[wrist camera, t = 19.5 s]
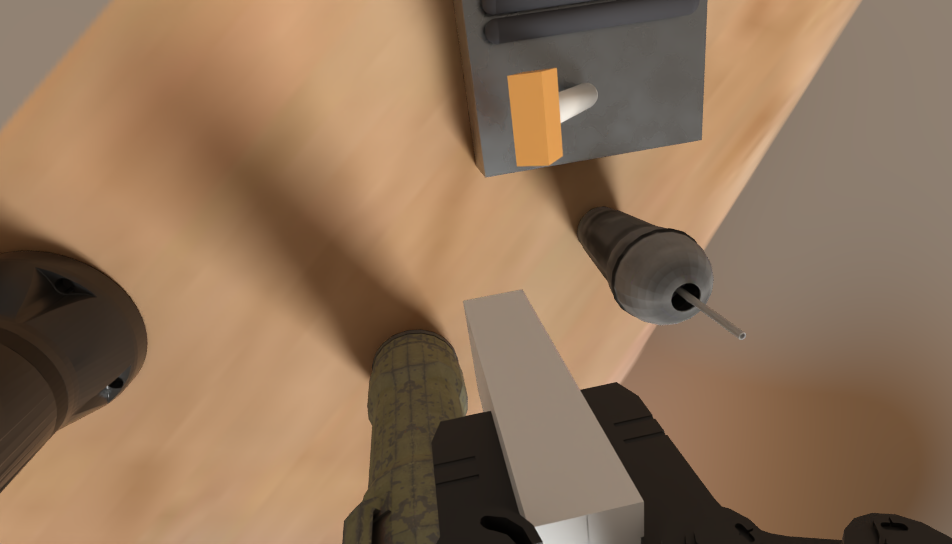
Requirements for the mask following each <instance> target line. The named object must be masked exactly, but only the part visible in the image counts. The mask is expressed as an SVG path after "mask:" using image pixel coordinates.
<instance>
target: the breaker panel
mask: <svg viewBox="0 0 952 544" xmlns="http://www.w3.org/2000/svg"><path fill="white" fill-rule="evenodd" d="M610 1H617V0H595V1H588V2H581V3H575V4H568V5H561V6H554V7H547V8H540V9H534V10H527V11H520V12H513V13H506V14H499V15H489V14H487V13H486V12H485V11H484V9H483V7H482V3H481V2H482V0H453V4H454V11H455V19H456V26H457V33H458V40H459V47H460V54H461V62H462V69H463V76H464V83H465V90H466V97H467V105H468V112H469V119H470V126H471V133H472V140H473V147H474V155H475V162H476V166H477V168H478V169H479V170H480V171H481V173H482V174H483V175H484V176H485V177H491V176H496V175H502V174H508V173H514V172H519V171H525V170H531V169H537V168H543V167H548V166H518V167H517V163H516V154H515V144H514V135H513V125H512V116H511V107H510V97H509V88H508V79H507V76H509V75H513V74H517V73H522V72H527V71H535V70H542V69H550V68H557V77H558V92H561V91H563V90H566V89H569V88H571V87H574V86H577V85H579V84H582V83H590V84H592V85H593V86H594V87H595V88H596V90H597V93H598V97H597V101H596V102H595V104H594V105H593V106H592V107H590V108H588V109H586V110H585V111H583V112H581V113H579V114H577V115H575V116H573V117H571V118H569V119H568V120H566V121H564V122H562V123H561V135H562V150H563V156H562V157H561V158H559V159H558V160H556V161H555V162H553V163H552V164H551V165H549V166H554V165H560V164H566V163H571V162H577V161H583V160H589V159H594V158H600V157H606V156H612V155H617V154H623V153H629V152H635V151H641V150H646V149H652V148H658V147H664V146H669V145H675V144H681V143H687V142H692V141H698V140H702V119H703V95H704V71H705V46H706V22H707V0H700V3H699V6H698V8H697V9H696V11H695V12H693V13H692V14H690V15H686V16H679V17H672V18H666V19H659V20H653V21H646V22H639V23H633V24H626V25H619V26H613V27H606V28H600V29H593V30H586V31H580V32H573V33H567V34H560V35H553V36H547V37H540V38H533V39H527V40H520V41H514V42H507V43H500V44H493V43H491V42H490V41H489V40H488V39H487V38H486V35H485V28H486V25H487V23H488V22H489V21H490V20H492V19H495V18H501V17H508V16H515V15H522V14H529V13H535V12H542V11H549V10H556V9H563V8H570V7H576V6H583V5H590V4H597V3H604V2H610Z"/></svg>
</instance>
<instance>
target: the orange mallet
mask: <svg viewBox="0 0 952 544" xmlns="http://www.w3.org/2000/svg"><path fill="white" fill-rule="evenodd" d="M507 79H508V88H509V97H510V107H511V116H512V125H513V135H514V144H515V154H516V163H517V167H518V166H549V165H551V164H552V163H553V162H555V161H556V160H558V159H559V158H561V157H562V156H563V150H562V135H561V123H562V122H564V121H566V120H568V119H569V118H571V117H573V116H575V115H577V114H579V113H581V112H583V111H585V110H586V109H588V108H590V107H592V106H593V105H594V104H595V102H596V101H597V97H598V93H597V90H596V88H595V87H594V86H593V85H592V84H590V83H582V84H579V85H577V86H574V87H571V88H569V89H566V90H563V91H561V92H558V77H557V68H550V69H542V70H535V71H527V72H522V73H517V74H513V75H509V76H507Z"/></svg>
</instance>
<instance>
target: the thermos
mask: <svg viewBox="0 0 952 544" xmlns="http://www.w3.org/2000/svg"><path fill="white" fill-rule="evenodd" d="M367 407H368V417H369V420H370V422H371V424H372V439H371V454H370V469H369V484H368V490H367V492H366V493H365V495H364V498H363V501H362V502H361V503H360V504H359V505H358V506H357V507H356V508H355V509H354V510H353V511H352V512H351V513H350V515H349V516H348V517H347V518H346V519H345V521H344V529H343V543H342V544H436V543H437V541H438V540H439V538H440V530H439V519H438V509H437V498H436V486H435V477H434V466H433V456H432V445H431V442H432V440H433V437H434V435H435V433H436V430H437V428H438V426H439V423H440V422H441V421H445V420H450V419H455V418H459V417H464V416H465V415H466V413H467V410H468V396H467V392H466V387H465V383H464V378H463V373H462V370H461V368H460V365H459V363H458V358H457V356H456V353H455V351H454V348H453V347H452V346H451V344H450V343H449V342H448V341H447V340H446V339H445V338H443V337H441V336H440V335H438V334H436V333H434V332H430V331H425V330H409V331H404V332H402V333H399V334H396V335H394V336H392V337H391V338H390V339H388V340H387V341H385V342H384V343H383V344H382V345H381V347H380V348H379V350H378V351H377V352H376V354H375V358H374V361H373V365H372V373H371V377H370V380H369V392H368V404H367Z"/></svg>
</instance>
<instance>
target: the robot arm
mask: <svg viewBox="0 0 952 544" xmlns="http://www.w3.org/2000/svg"><path fill="white" fill-rule="evenodd" d="M463 303H464V309H465V315H466V321H467V327H468V333H469V339H470V345H471V351H472V357H473V363H474V369H475V375H476V381H477V386H478V392H479V396H480V400H481V404H482V408H483V413H478V414H473V415H469V416H464V417H459V418H455V419H450V420H445V421H441V422H440V423H439V426H438V428H437V430H436V433H435V435H434V437H433V440H432V442H431V445H432V456H433V466H434V477H435V486H436V498H437V509H438V519H439V530H440V538H439V540H438V541H437V543H436V544H952V538H950V537H949V536H947V535H945V534H943V533H941V532H939V531H937V530H935V529H933V528H931V527H930V526H928V525H926V524H924V523H922V522H918V521H915V520H912V519H908V518H905V517H902V516H899V515H895V514H879V513H870V514H867V515H864V516H860V517H857V518H854V519H853V520H852V521H851V523H850V524H849V525H848V526H847V527H846V528H845V530H844V534H843V538H842V540H831V539H817V538H802V537H789V536H783V535H777V534H771V533H768V532H765V531H762V530H760V529H759V528H758V527H757V526H756V525H755V524H754V523H753V522H752V521H751V520H749V519H748V518H746V517H744V516H742V515H740V514H739V513H737V512H735V511H733V510H731V509H729V508H725V507H722V506H721V505H720V504H719V503H718V502H717V501H716V500H715V499H714V498H713V496H712V495H711V494H710V492H709V491H708V490H707V488H706V487H705V485H704V484H703V483H702V481H701V480H700V479H699V477H698V476H697V475H696V473H695V472H694V471H693V469H692V468H691V467H690V465H689V464H688V463H687V461H686V460H685V459H684V457H683V456H682V454H681V453H680V452H679V450H678V449H677V448H676V446H675V445H674V444H673V442H672V441H671V440H670V438H669V437H668V435H665V433H664V430H663V429H662V428H661V426H660V425H659V423H658V422H657V421H656V419H653V417H652V414H651V413H650V411H649V410H648V408H647V407H646V406H645V404H644V403H643V402H642V400H641V399H640V398H639V396H637V395H636V394H634V393H633V392H631V391H630V390H628V389H626V388H625V387H623V386H622V385H620V384H618V383H617V382H615V383H610V384H606V385H601V386H596V387H592V388H587V389H582V390H580V389H579V387H578V386H577V384H576V382H575V380H574V379H573V377H572V375H571V373H570V372H569V370H568V368H567V366H566V365H565V363H564V361H563V359H562V358H561V356H560V354H559V352H558V351H557V349H556V347H555V345H554V344H553V342H552V340H551V338H550V337H549V335H548V333H547V332H546V330H545V328H544V326H543V325H542V323H541V321H540V319H539V318H538V316H537V314H536V312H535V311H534V309H533V307H532V305H531V304H530V302H529V300H528V298H527V297H526V295H525V293H524V291H523V290H517V291H511V292H506V293H501V294H496V295H491V296H486V297H481V298H475V299H470V300H465V301H463ZM146 352H147V333H146V329H145V325H144V322H143V319H142V317H141V315H140V313H139V311H138V309H137V308H136V306H135V304H134V303H133V302H132V300H131V299H130V298H129V296H128V295H127V294H126V293H125V292H124V291H123V290H122V289H121V288H120V287H119V286H118V285H117V284H116V283H115V282H113V281H112V280H111V279H109V278H108V277H107V276H105V275H104V274H102V273H101V272H99V271H98V270H96V269H94V268H92V267H90V266H88V265H86V264H84V263H82V262H79V261H77V260H74V259H71V258H69V257H65V256H62V255H58V254H53V253H47V252H40V251H14V252H7V253H2V254H0V493H1V492H2V491H3V490H4V489H5V487H6V486H7V485H8V484H9V483H10V482H11V481H12V480H13V479H14V478H15V476H16V475H17V474H18V473H19V472H20V471H21V470H22V469H23V468H24V467H25V465H26V464H27V463H28V462H29V461H30V460H31V459H32V458H33V457H34V455H35V454H36V453H37V452H38V451H39V450H40V449H41V448H42V447H43V446H44V444H45V443H46V442H47V441H48V440H49V439H50V438H51V437H52V436H53V434H54V433H55V432H56V431H58V430H59V429H61V428H63V427H65V426H67V425H69V424H71V423H73V422H75V421H77V420H79V419H81V418H82V417H84V416H86V415H88V414H90V413H92V412H94V411H96V410H98V409H100V408H102V407H103V406H105V405H107V404H108V403H110V402H111V401H112V400H114V399H115V398H116V397H118V396H119V395H120V394H121V393H122V392H123V391H124V390H125V388H126V387H127V386H128V385H129V384H130V383H131V381H132V380H133V379H134V378H135V377H136V375H137V374H138V373H139V371H140V369H141V367H142V365H143V363H144V360H145V357H146Z"/></svg>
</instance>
